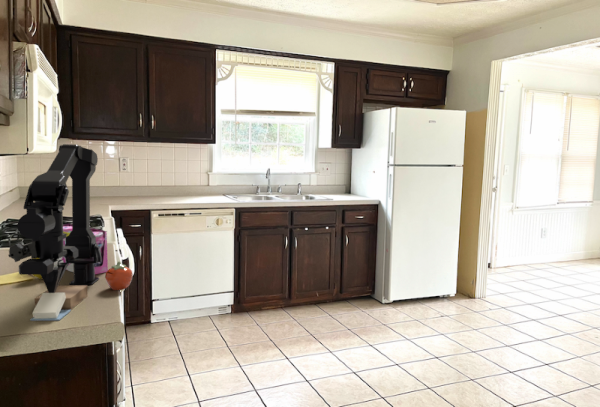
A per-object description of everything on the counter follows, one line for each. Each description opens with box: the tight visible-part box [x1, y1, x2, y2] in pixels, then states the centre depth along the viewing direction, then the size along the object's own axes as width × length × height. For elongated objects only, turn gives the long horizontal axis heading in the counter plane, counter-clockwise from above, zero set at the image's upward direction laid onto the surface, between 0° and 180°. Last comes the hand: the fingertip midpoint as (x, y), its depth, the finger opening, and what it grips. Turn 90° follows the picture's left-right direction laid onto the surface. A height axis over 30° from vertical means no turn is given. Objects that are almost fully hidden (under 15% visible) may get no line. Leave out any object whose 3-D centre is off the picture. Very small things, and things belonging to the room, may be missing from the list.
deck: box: [34, 284, 89, 311], centre depth 119 cm, size 11×8×3 cm
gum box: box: [62, 223, 109, 275], centre depth 152 cm, size 24×8×14 cm, turn 55°
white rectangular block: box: [32, 292, 66, 319], centre depth 110 cm, size 7×5×2 cm
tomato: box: [104, 260, 134, 291], centre depth 132 cm, size 7×7×8 cm
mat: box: [29, 310, 72, 322], centre depth 110 cm, size 6×6×1 cm
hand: (51, 293), depth 113 cm, fingers closed
